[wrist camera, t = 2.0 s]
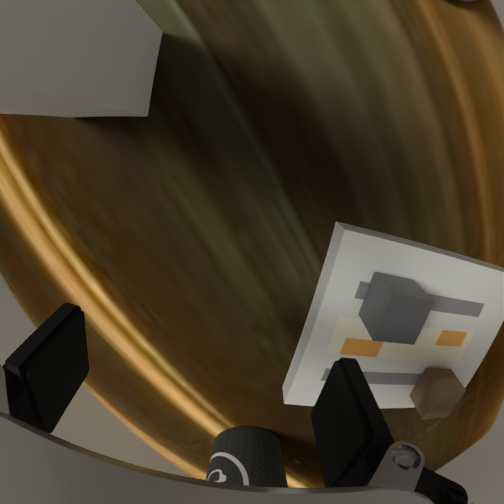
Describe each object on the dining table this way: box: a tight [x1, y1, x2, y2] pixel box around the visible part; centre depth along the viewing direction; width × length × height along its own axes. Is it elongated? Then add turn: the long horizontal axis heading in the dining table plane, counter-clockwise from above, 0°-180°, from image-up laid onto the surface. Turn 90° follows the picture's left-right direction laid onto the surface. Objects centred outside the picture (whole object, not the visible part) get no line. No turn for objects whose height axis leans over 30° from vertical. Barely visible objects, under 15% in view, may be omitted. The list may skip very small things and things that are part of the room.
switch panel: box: [282, 221, 504, 408], centre depth 21 cm, size 14×18×2 cm
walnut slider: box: [409, 368, 466, 419], centre depth 19 cm, size 3×3×3 cm
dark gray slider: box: [358, 272, 435, 345], centre depth 17 cm, size 3×3×3 cm
